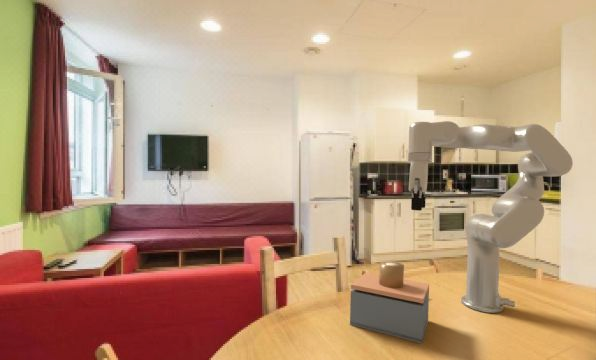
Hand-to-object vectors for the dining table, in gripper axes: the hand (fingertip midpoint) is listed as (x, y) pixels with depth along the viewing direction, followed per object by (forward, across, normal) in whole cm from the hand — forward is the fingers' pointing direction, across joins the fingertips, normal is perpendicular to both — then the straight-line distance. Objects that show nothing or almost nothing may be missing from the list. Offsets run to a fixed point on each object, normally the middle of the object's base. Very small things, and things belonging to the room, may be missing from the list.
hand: (418, 208), depth 106 cm
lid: (+23, +17, -5) cm, 29 cm away
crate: (+33, +18, -5) cm, 38 cm away
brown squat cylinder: (+22, +18, -5) cm, 28 cm away
